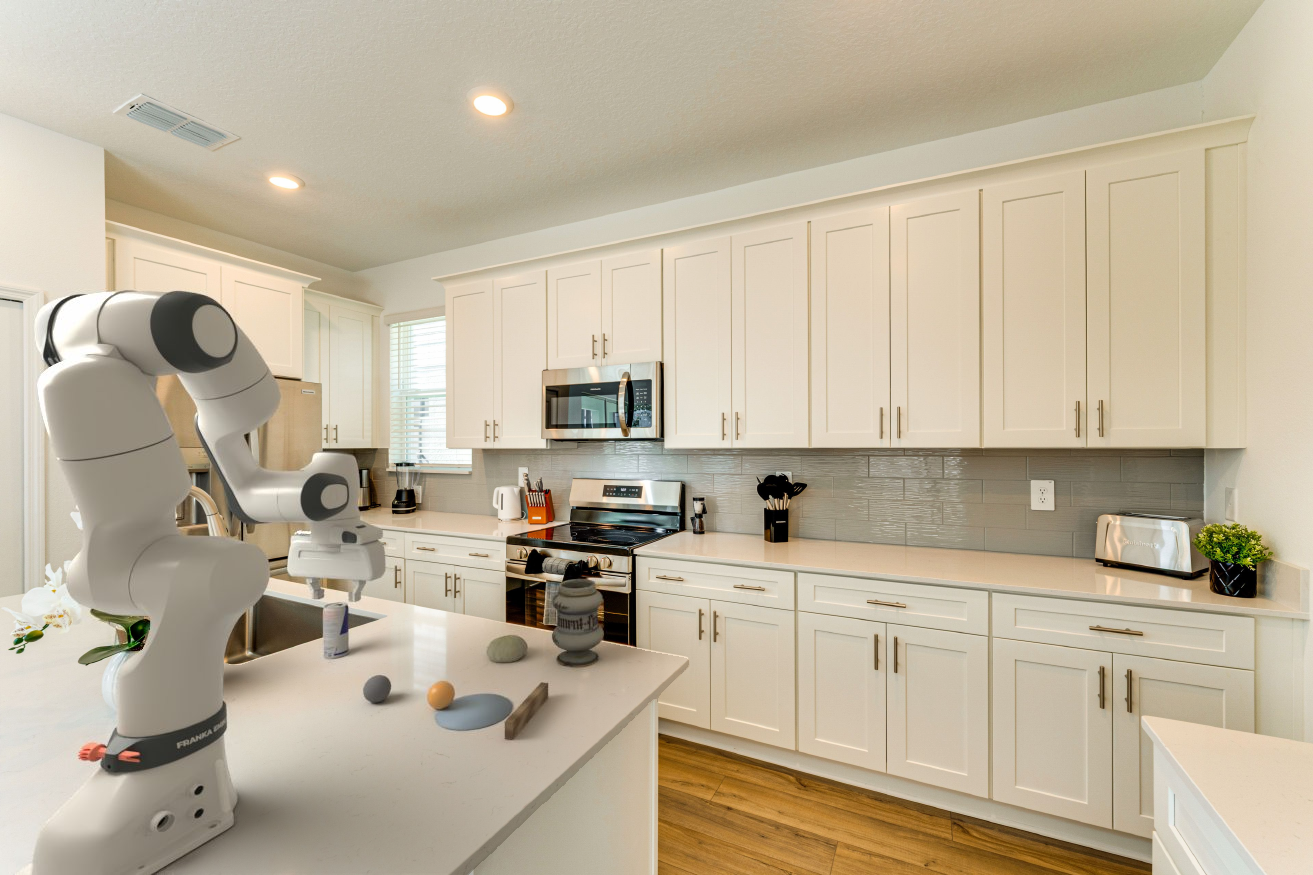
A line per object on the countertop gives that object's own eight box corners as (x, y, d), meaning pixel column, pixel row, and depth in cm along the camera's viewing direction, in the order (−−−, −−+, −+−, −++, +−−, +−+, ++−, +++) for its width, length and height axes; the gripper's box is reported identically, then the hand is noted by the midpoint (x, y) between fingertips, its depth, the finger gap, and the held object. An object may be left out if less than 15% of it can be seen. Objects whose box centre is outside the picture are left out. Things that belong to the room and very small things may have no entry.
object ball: (445, 715, 106) (445, 688, 106) (421, 712, 107) (421, 686, 107) (459, 702, 111) (459, 677, 111) (436, 700, 112) (436, 675, 112)
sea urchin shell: (480, 646, 136) (504, 619, 139) (503, 665, 138) (526, 639, 141) (485, 659, 128) (511, 631, 130) (510, 680, 130) (535, 651, 133)
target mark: (490, 733, 99) (490, 732, 99) (419, 725, 102) (419, 724, 102) (524, 697, 113) (524, 696, 113) (460, 691, 116) (460, 690, 116)
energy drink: (353, 651, 138) (353, 602, 138) (338, 659, 133) (338, 608, 133) (332, 650, 138) (332, 601, 138) (317, 658, 133) (317, 608, 133)
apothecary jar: (543, 666, 129) (543, 587, 128) (564, 647, 140) (564, 575, 140) (593, 671, 126) (593, 591, 126) (610, 651, 137) (610, 578, 137)
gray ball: (379, 708, 109) (379, 682, 109) (357, 705, 110) (357, 680, 110) (396, 696, 114) (396, 671, 114) (374, 694, 115) (374, 669, 115)
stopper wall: (512, 739, 97) (512, 722, 97) (504, 738, 98) (504, 721, 98) (548, 697, 113) (548, 682, 113) (541, 696, 113) (541, 682, 113)
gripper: (278, 532, 112) (279, 601, 113) (368, 536, 108) (369, 607, 109) (304, 527, 119) (304, 592, 119) (390, 530, 115) (390, 597, 115)
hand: (336, 599), depth 114 cm, fingers open, 7 cm apart
